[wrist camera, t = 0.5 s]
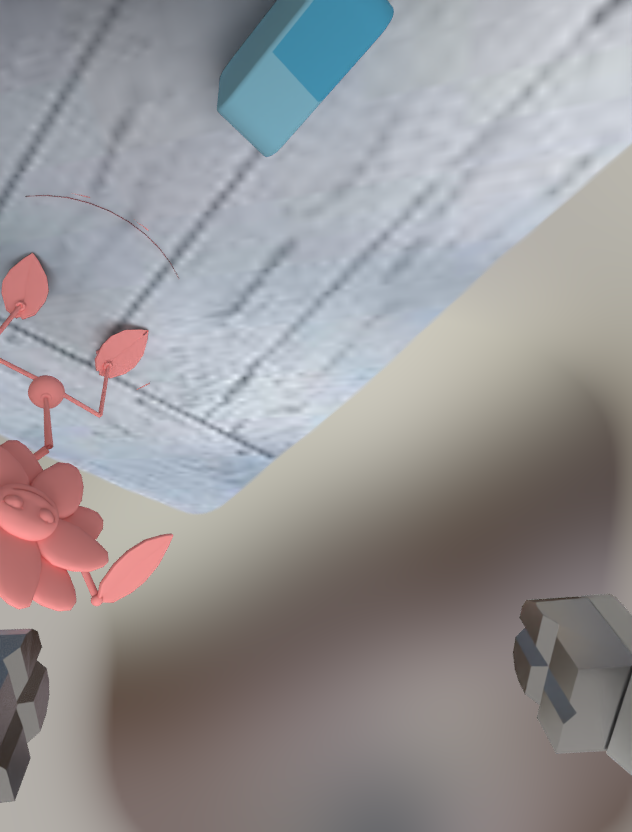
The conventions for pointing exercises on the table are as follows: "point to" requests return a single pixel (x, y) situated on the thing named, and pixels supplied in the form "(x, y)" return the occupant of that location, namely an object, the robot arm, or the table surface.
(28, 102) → the table surface
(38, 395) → the figurine
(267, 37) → the data package
